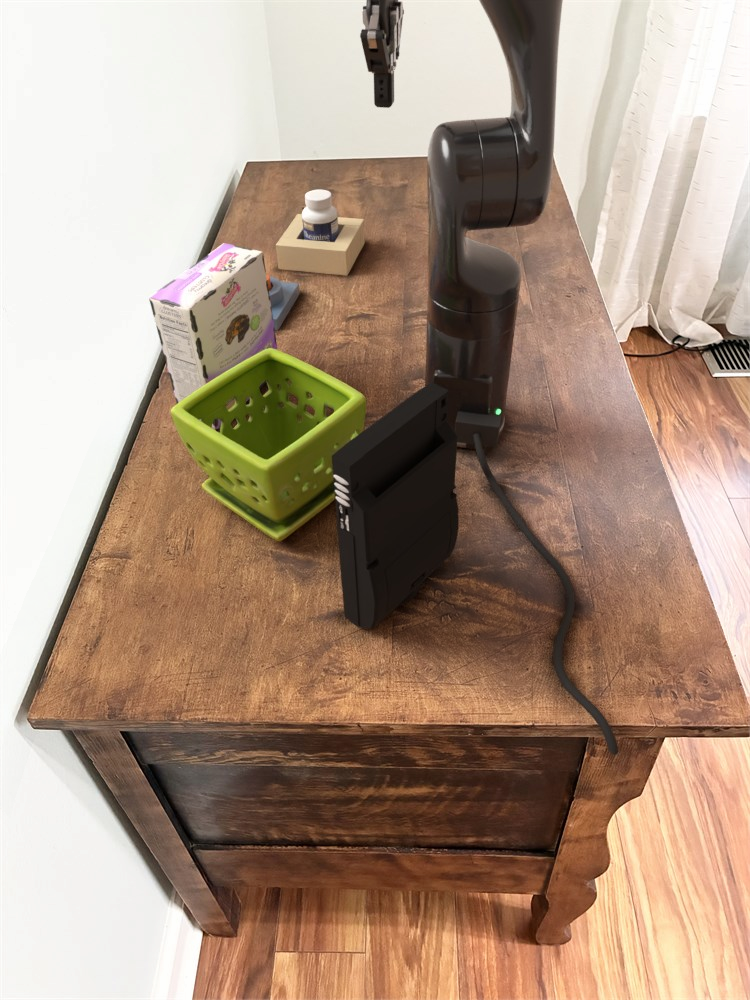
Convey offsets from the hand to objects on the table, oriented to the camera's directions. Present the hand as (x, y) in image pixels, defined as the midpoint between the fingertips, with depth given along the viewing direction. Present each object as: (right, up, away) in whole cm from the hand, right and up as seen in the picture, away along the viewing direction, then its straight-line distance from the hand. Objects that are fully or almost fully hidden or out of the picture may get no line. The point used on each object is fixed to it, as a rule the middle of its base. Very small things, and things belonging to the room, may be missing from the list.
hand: (384, 105), depth 93 cm
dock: (-9, -10, +26) cm, 29 cm away
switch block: (-17, -21, +15) cm, 31 cm away
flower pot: (-11, -48, -12) cm, 51 cm away
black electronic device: (+1, -57, -22) cm, 61 cm away
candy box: (-19, -36, +1) cm, 40 cm away
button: (-17, -19, +13) cm, 29 cm away
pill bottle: (-9, -10, +26) cm, 30 cm away
